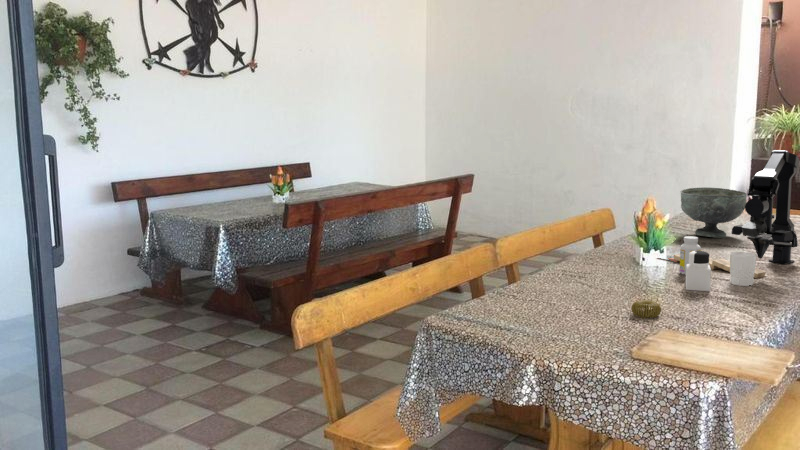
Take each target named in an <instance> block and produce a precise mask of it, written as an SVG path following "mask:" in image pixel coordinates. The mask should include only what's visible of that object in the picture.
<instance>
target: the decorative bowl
mask: <svg viewBox="0 0 800 450" xmlns="http://www.w3.org/2000/svg"><path fill="white" fill-rule="evenodd" d="M747 197H748V192H744V191H741V190H739V191H738V190H734V189H729V188H720V187H707V186H706V187H691V188H690V187H689V188H686V189H684V188H683V189H682V190H681V191H680V201H681V203H680V208H681V210H682V212H683V213H684V215H687V216H688V217H689V218H690V219H691V220H693V221H696V222H701V223H704V225H705V226H704V227H699V228H696V230H695V231H694V233H695V235H696V236H700V237H709V238H716V239H717V238H719V239H721V238H726V237H727V233H726V232H725V231H724V230H723V229H720V228H718V224H726V223H730V222H732V221H734V220H736V219H737V218H738V217H740V216H741V215H742V213H744V210H745V205H746V203H747Z"/></svg>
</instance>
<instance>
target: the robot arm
mask: <svg viewBox="0 0 800 450" xmlns="http://www.w3.org/2000/svg"><path fill="white" fill-rule="evenodd" d="M799 165H800V158H799V156H798V155H797V154H794V153H791V152H789V151H788V150H784V149H783V150H781V149H777V150H776V149H774V150H772V151H771V153H770V157H769V159H768V161H767V163H766V164H765V166H764V167H763V170H760V171H758V172H756V173H755V175H754V176H753V177H752V178H751V181H750V184H749V188H748V192H747V197H751V199H749V200H748V201H746V205H745V209H744V210H745V212H746V213H747V214H748V215H749V216H750V218H749V221H747V222H746V223H744V224H738V225H733V227H732V228H731V235H736V236H741V234H742V236H743V237H746V238H747V239H748V240H750V242H752V244H753V246H754V248H755V249H754V250H755V252H756V255H757V258H758V259H763V257H764V256H765V253H766V252H767V250H768V248H769V246H772V247H773V248H772V258H771V259H768V262H771V263H775V264H776V263H777V264H782V265H788V264H791V263H795V262H796V261H795V260H793V259H792V248H797V247H798V235H797V233H796V230H795V224H794V223H793V221H792V220H791V216H790V215H791V199H792V197H791V196H792V195H791V194H792V179H793V177H794V176H795V174H796V173H797V171H798V168H799ZM775 196H776V201H775V202H776V204H775V206H776V207H775V214H774V215H773V209H774V197H775ZM773 219H774V220H773Z"/></svg>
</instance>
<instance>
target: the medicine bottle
mask: <svg viewBox="0 0 800 450" xmlns="http://www.w3.org/2000/svg"><path fill="white" fill-rule="evenodd" d="M709 258H710V253H708V252H707V251H703V250H701V251H692V252H690V253H689V264H686V275H685V290H686V291H695V292H696V291H697V292H700V291H701V292H710V291H711V284H712V283H711V281H712V280H711V279H712V269H711V268H710V265H709Z"/></svg>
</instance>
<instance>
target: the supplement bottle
mask: <svg viewBox="0 0 800 450" xmlns="http://www.w3.org/2000/svg"><path fill="white" fill-rule="evenodd" d="M683 242H684V243H682V244H681V245H680V249H679V250H680V251H679V252H680V253H679V254H680V262H679V273H680V274H681V275H685V276H686V264H689V253H690V252H692V251H702V248H701V246H700V245H699V244H698V243H699V237H698V236H691V235H690V236H687V235H686V236H683Z"/></svg>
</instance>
